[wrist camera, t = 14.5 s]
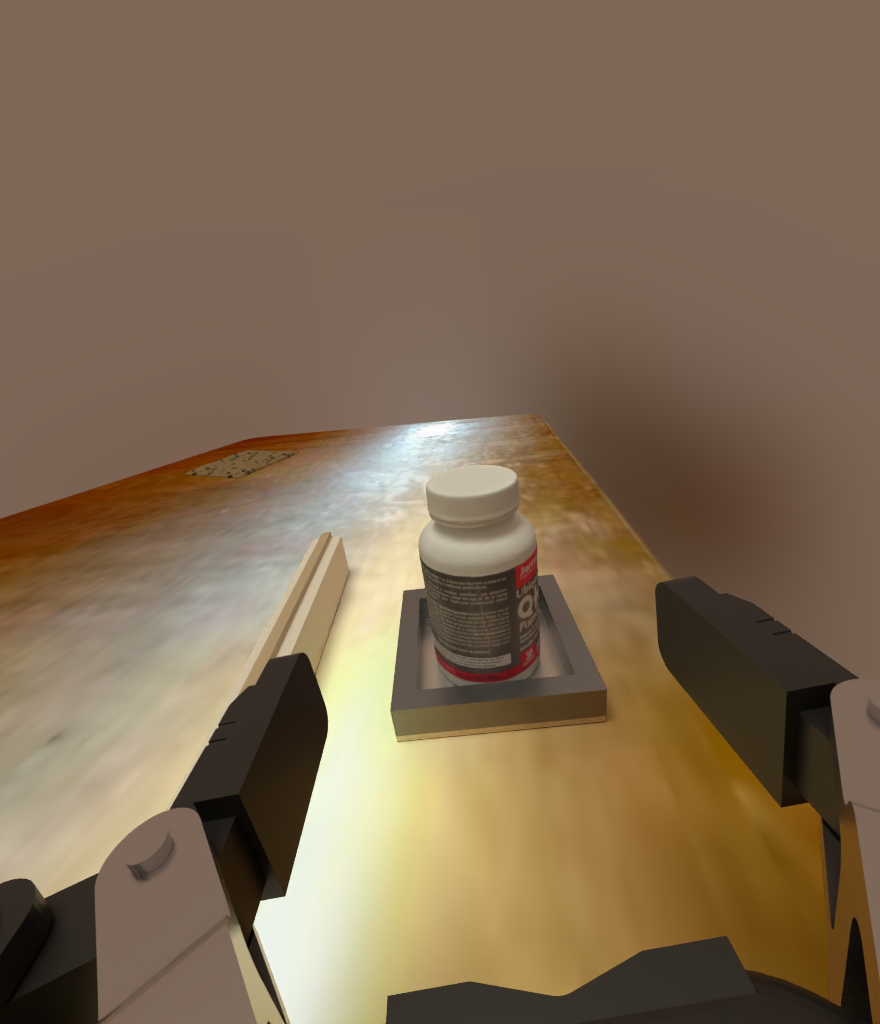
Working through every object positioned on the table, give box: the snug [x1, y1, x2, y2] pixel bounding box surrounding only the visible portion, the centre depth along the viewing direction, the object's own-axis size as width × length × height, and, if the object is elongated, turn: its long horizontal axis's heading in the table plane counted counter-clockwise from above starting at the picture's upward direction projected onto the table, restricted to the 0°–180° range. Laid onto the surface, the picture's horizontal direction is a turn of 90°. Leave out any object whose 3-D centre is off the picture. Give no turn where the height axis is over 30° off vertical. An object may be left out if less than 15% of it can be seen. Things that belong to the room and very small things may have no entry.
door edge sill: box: [167, 532, 349, 810], centre depth 24 cm, size 20×2×3 cm, turn 1°
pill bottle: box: [419, 465, 540, 686], centre depth 21 cm, size 5×5×10 cm
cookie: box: [186, 450, 299, 478], centre depth 68 cm, size 12×12×1 cm
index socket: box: [391, 575, 607, 741], centre depth 23 cm, size 9×9×2 cm
